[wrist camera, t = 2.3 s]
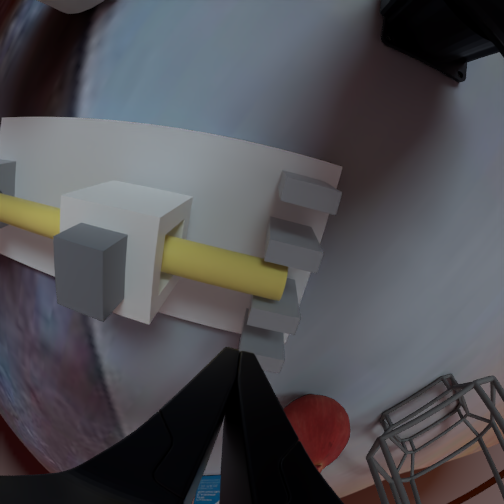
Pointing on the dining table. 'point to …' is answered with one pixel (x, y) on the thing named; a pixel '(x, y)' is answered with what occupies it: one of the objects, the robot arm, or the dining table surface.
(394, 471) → the geometric lantern
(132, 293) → the sleeve
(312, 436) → the onion
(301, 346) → the dining table surface
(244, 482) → the robot arm
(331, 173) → the linear slider
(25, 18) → the dining table surface
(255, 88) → the dining table surface
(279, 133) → the dining table surface
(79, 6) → the can
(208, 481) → the milk carton
